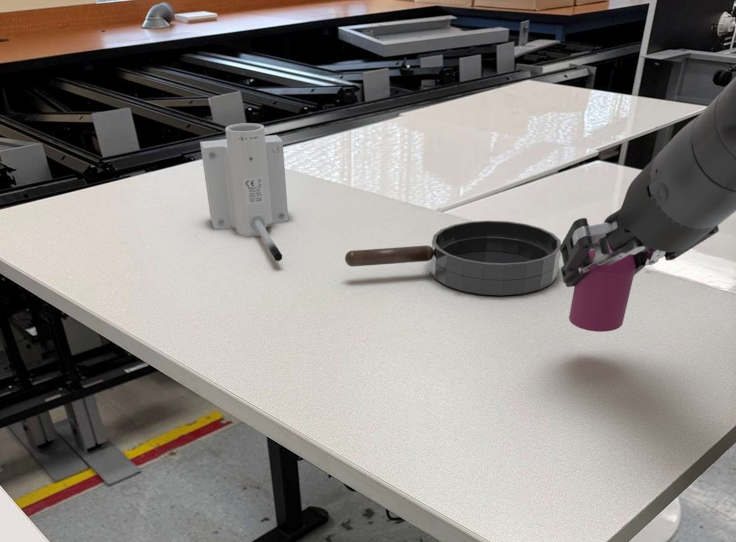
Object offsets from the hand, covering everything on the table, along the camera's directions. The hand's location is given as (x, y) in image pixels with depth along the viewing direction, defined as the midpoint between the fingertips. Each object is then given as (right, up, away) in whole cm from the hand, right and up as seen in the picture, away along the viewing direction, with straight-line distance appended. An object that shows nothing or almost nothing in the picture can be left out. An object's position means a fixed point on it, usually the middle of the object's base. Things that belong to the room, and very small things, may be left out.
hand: (594, 274), depth 73 cm
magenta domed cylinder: (+1, -4, +1) cm, 5 cm away
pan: (-5, +9, +26) cm, 28 cm away
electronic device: (-39, +17, +37) cm, 56 cm away
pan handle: (-20, +9, +23) cm, 31 cm away
